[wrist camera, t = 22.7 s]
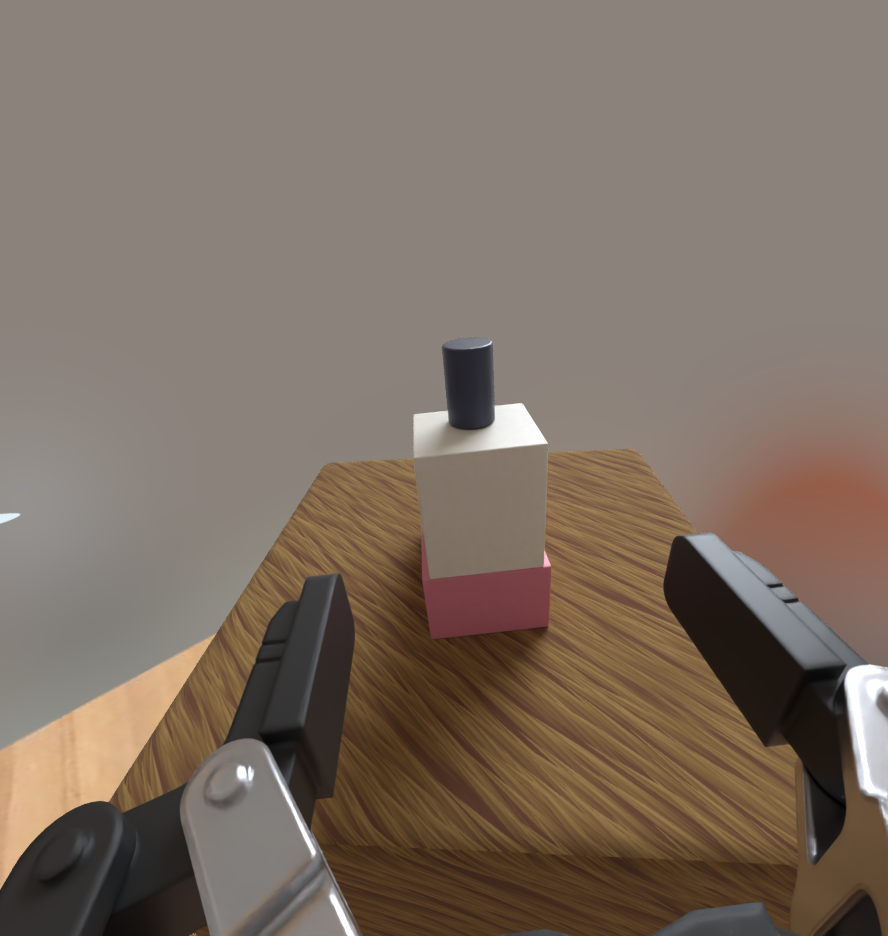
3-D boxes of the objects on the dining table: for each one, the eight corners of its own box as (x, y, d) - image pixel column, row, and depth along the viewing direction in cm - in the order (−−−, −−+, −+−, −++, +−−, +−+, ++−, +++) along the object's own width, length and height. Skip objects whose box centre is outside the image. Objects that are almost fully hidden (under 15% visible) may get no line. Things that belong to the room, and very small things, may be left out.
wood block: (606, 658, 45) (638, 444, 33) (730, 1064, 23) (965, 879, 11) (373, 658, 47) (323, 459, 35) (287, 1025, 25) (74, 837, 13)
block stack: (548, 626, 19) (561, 353, 13) (430, 640, 19) (390, 370, 13) (506, 505, 27) (503, 306, 21) (425, 513, 27) (399, 316, 21)
